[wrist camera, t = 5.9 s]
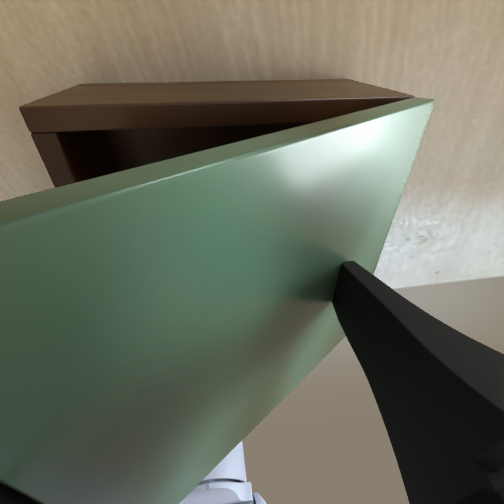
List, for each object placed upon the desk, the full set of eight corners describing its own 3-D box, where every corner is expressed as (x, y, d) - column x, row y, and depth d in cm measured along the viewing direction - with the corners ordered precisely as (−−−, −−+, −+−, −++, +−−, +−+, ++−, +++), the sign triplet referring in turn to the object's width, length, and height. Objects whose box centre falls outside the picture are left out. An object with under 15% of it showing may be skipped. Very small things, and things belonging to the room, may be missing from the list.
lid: (121, 529, 10) (130, 553, 10) (-274, 266, 3) (-322, 319, 2) (344, 319, 18) (355, 326, 17) (413, 96, 10) (436, 99, 10)
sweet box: (142, 279, 21) (126, 345, 16) (79, 83, 13) (16, 106, 9) (316, 261, 23) (346, 317, 18) (349, 78, 15) (416, 96, 10)
